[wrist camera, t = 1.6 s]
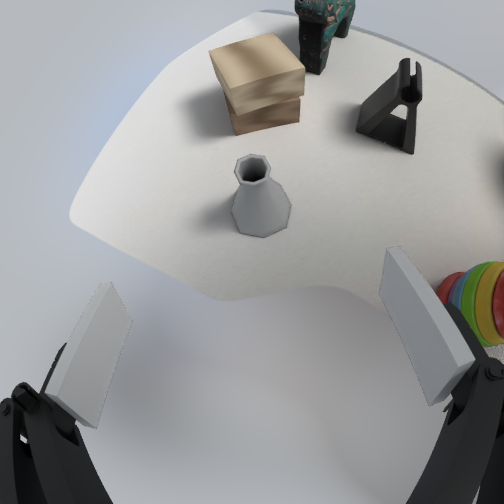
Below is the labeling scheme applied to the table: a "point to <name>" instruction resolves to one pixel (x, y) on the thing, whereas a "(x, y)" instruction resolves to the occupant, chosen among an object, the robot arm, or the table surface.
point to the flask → (259, 198)
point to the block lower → (265, 116)
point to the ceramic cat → (321, 29)
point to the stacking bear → (479, 300)
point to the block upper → (258, 72)
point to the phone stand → (385, 101)
